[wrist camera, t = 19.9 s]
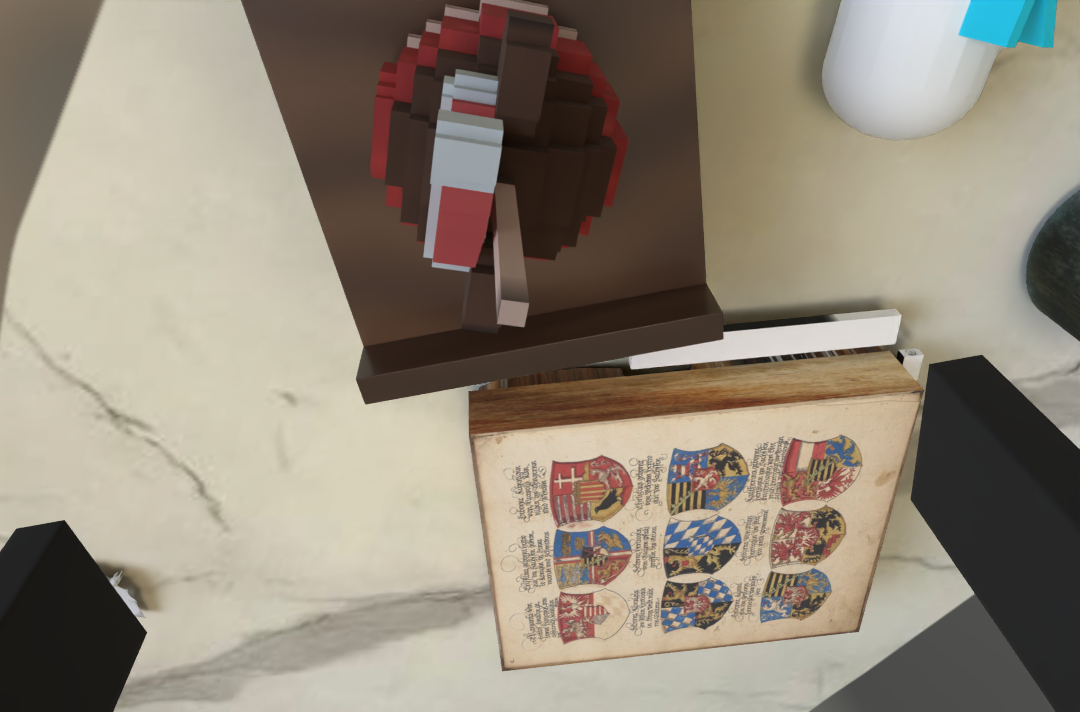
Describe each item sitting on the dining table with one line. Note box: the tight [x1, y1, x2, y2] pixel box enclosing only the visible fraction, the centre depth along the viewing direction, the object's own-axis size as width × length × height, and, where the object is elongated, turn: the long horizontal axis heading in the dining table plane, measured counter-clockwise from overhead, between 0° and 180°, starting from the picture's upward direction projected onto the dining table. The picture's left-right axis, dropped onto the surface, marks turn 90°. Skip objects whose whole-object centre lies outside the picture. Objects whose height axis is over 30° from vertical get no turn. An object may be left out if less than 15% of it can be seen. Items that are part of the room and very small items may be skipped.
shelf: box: [241, 0, 724, 404], centre depth 36 cm, size 20×18×9 cm
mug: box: [822, 0, 1057, 140], centre depth 35 cm, size 12×9×12 cm
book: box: [469, 309, 924, 671], centre depth 51 cm, size 25×6×28 cm
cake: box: [370, 0, 629, 334], centre depth 26 cm, size 11×9×18 cm
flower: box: [107, 570, 145, 618], centre depth 55 cm, size 8×8×3 cm
